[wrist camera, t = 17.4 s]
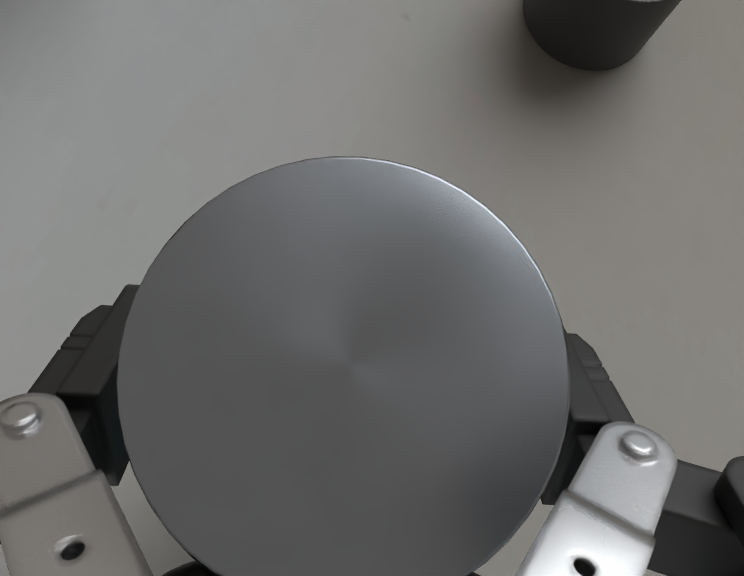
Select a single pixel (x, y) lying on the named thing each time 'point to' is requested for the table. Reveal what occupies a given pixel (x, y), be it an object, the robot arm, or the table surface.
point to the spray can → (343, 376)
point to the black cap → (595, 28)
